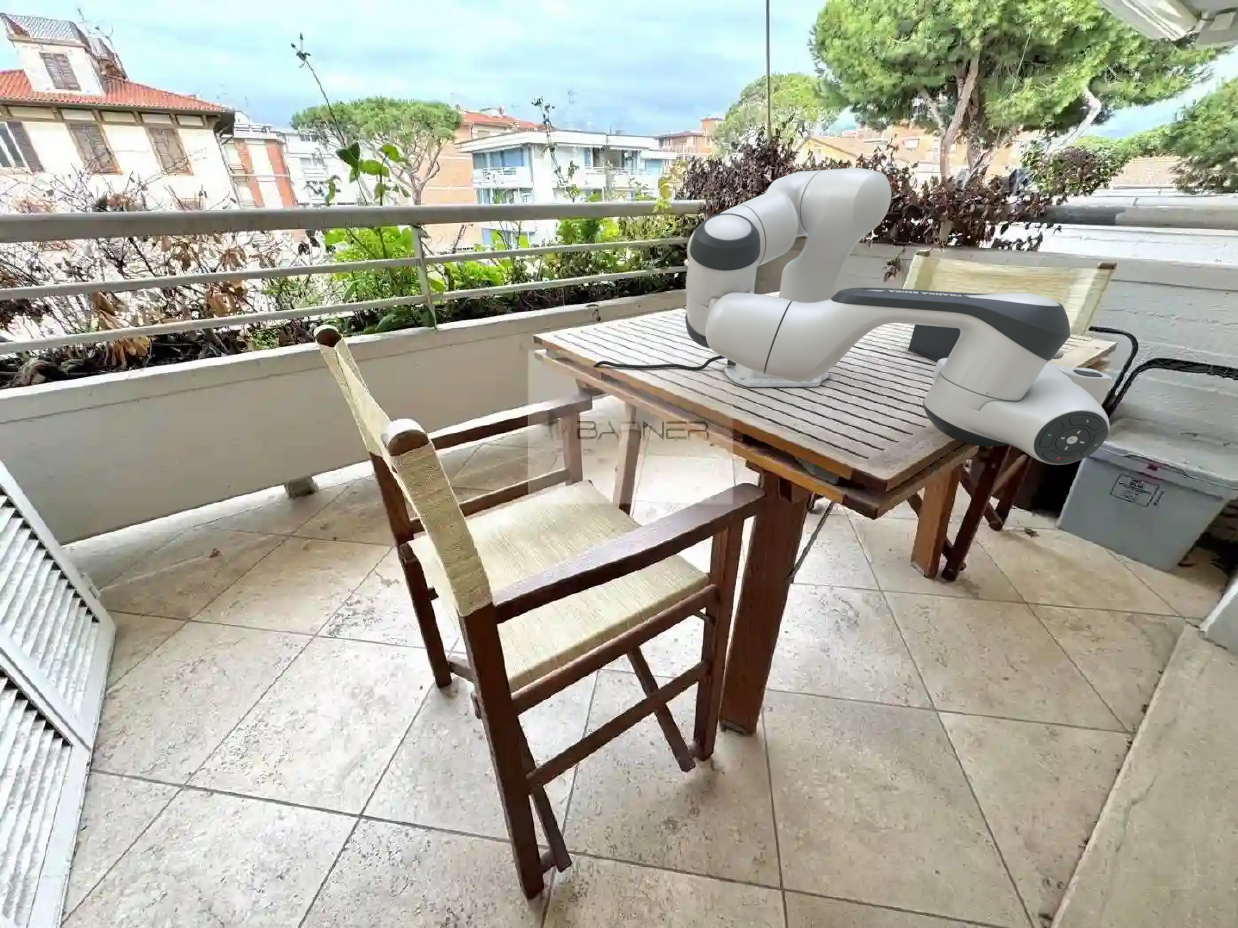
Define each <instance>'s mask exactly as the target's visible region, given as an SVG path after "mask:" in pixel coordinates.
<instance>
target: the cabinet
mask: <svg viewBox="0 0 1238 928" xmlns="http://www.w3.org/2000/svg"><path fill="white" fill-rule="evenodd" d="M959 336H960V329H959V328H950V327H939V326H927V325H916V324H914V327H913V331H912V334H911V338H910V341H909V346H908V349H907V350H908V351H909V352H911V353H914V354H916V355H918V356H921V357H924V358H926V359H929V360H931V361H933V362H936V363H937V362H938V360H940V359H942V358H948V357H949V355H950V353H951V351H952V349H953V348H954V346H955V344H956V342H957V340H958V339H959Z"/></svg>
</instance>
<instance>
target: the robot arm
mask: <svg viewBox="0 0 1238 928" xmlns="http://www.w3.org/2000/svg"><path fill="white" fill-rule="evenodd" d="M891 201H892V187H891V183H890V180H889V178H888V177H887V176H886V174H884V173H883V172H880V171H876V170H873V169H872V170H871V169H868V168H863V167H847V168H832V169H831V168H830V169H820V170H818V169H817V170H807V171H806V170H805V171H803V170H802V171H796V172H793V173H789V174H787V175H785V176H781V177H779V178H776V179H775V180H774V181H772V182H771V184H770V185H768V187H767V189H766V191H765V193H763V194H760V195H758V196H756V197H754V198H751V199H749V200H746V201H744V202H742V203H739V204H737V205H735V206H733V207H730V208H728V209H726V210H724V211H722V212H720V213H717V214H713V215H711V216H709V217H707V218H706V219H704V220H703V221H702V222H701V223H700V224H699V225H698V226H697V227H696V228H695V230H694V231H693V233H692V234H691V235H690V237H689V239H688V242H687V247H686V254H687V260H688V265H687V271H686V278H685V279H686V280H685V290H686V292H685V309H686V312H685V318H684V320H685V327H686V331H687V334H688V336H689V337H690V339H691V340H692V341H693V342H694V343H696V344H697V345H699V346H701V347H703V348H706V349H709V350H712V351H713V352H714V353H715V354H717V355H716V356H714V357H711V358H709V359H707V360H706V361H705V362H704V363H703V364H701V365H699V366H689V365H684V364H678V363H662V364H627V363H615V362H612V361H608V360H600V361H598V362H596V363H595V364H594V365H593V366H592V367H593V368H598V367H599V366H601V365H606V366H609V367H613V368H618V369H619V368H622V369H635V370H651V369H652V370H653V369H654V370H655V369H666V368H667V369H669V368H674V369H675V368H677V369H682V370H686V371H687V370H688V371H701V370H704V369H706V368H707V367H708V365H710V364H711V363H712V362H715V361H718V360H723V359H727V360H726V361H727V362H726V364H725V366H724V371H723V372H724V374H725V375H726V377H728V378H729V379H730V380H731V381H733V382H734V383H736V384H738V385H741V386H744V387H748V388H799V387H800V388H803V387H804V388H808V387H810V388H812V387H813V388H815V387H816V388H817V387H819V386H820V385H821V383H822V382H823V381H825V380H827V379H828V378H829V376H830V373H829V371H830V370H831V369H833V367H834V366H836V365H837V364H838V363H839V362H840V361H841V360H842V359H843V357H844V356H845V355H846V354H848V352H849V351H850V350H852V348H853V347H854V346H855V345H856V344H857V343H858V342H859V341H860V340H861V339H862V338H864V336H866V335H867V334H868V333H870V332H872V331H873V330H875V329H877V328H879V327H881V326H884V325H889V324H906V325H915V324H916V325H927V326H939V327H950V328H959V329H960V336H959V339H958V340H957V342H956V344H955V346H954V348H953V349H952V351H951V353H950V355H949V357H948V358H942V359H940V360H938V362H936V365H935V368H934V371H933V376H932V379H933V381H932V384H931V385H930V388H929V389H928V391H927V393H926V394H925V395H926V396H925V397H924V399H923V401H922V407H923V410H924V412H925V415H926V416H927V417H928V419H929V421H930V423H931V424H932V425H933V426H934V427H935V429H937V430H938V431H939V432H941V433H942V434H944V435H945V436H947V437H949V438H951V439H954V440H955V441H958V442H961V443H964V444H968V445H970V446H971V445H972V446H975V447H977V446H978V447H985V448H989V447H990V448H993V447H1005V446H1006V447H1007V446H1010V445H1011V446H1013V447H1014V448H1016V449H1018V450H1020V451H1022V452H1024V453H1025V454H1027V455H1028V456H1030V457H1031V458H1033V459H1035V460H1037V461H1038V462H1041V463H1045V464H1048V465H1056V466H1060V465H1061V466H1062V465H1069V464H1073V463H1076V462H1079V461H1081V460H1083V459H1086V458H1088V457H1089V456H1092V455H1093V454H1094V453H1095V452H1096V451H1097V450H1098V449H1099V448H1101V446H1102V445H1103V444H1104V442H1106V440H1107V438H1108V436H1109V434H1110V427H1111V426H1110V420H1109V417H1108V414H1107V413H1106V411H1105V409H1104V408H1103V406H1102V405H1103V404H1104V403H1105V400H1106V398H1107V396H1108V394H1109V391H1110V388H1111V385H1112V382H1113V377H1112V376H1111V375H1109V374H1106V373H1103V372H1101V371H1099V370H1097V369H1093V368H1087V367H1076V366H1063V365H1059V364H1052V363H1050V361H1051V360H1053V359H1052V358H1053V356H1054V355H1055V354H1056V353H1057V352H1058V351H1059V350H1061V348H1062V347H1063V345H1064V344H1065V343H1066V342H1067V341H1068V340H1069V338H1070V337H1071V326H1070V321H1069V317H1068V314H1067V312H1066V309H1065V307H1064V305H1063V304H1062V303H1060V302H1057V301H1055V300H1053V299H1051V298H1050V297H1047V296H1043V295H1041V294H1036V293H1030V292H1001V293H976V292H975V293H974V292H955V291H939V290H926V289H910V288H909V289H908V288H894V287H893V288H891V287H850V288H844V289H840V290H838V287H839V284H840V279H841V275H842V273H843V269H844V267H845V264H846V262H847V260H848V258H849V256H850V255H851V253H852V252H853V251H854V249H855V247H856V246H857V245H858V244H859V242H861V240H862V239H864V238H865V237H866V236H867V235H868V234H869V233H871V232H872V231H874V230H876V228H878V226H879V225H880V224H881V223H882V222H883V221H884V219H885V217H886V215H887V214H888V211H889V209H890V206H891ZM806 236H807V238H806V241H805V244H804V246H803V249H802V250H801V252H800V253H799V255H798V256H796V257H794V258H792V259H791V260H790V261H789V262H787V263H786V265H784V267H783V268H782V272H781V278H780V285H779V293H778V296H774V295H768V294H761V293H756V292H755V284H756V278H757V269H758V268H759V267H760V266H762V265H764V264H766V263H768V262H771V261H773V260H775V259H778V258H779V257H781V256H783V255H785V254H787V253H788V252H789V251H790V250H791V249H792V247H793V245H794V244H795V242H796V238H799V237H806Z"/></svg>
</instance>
